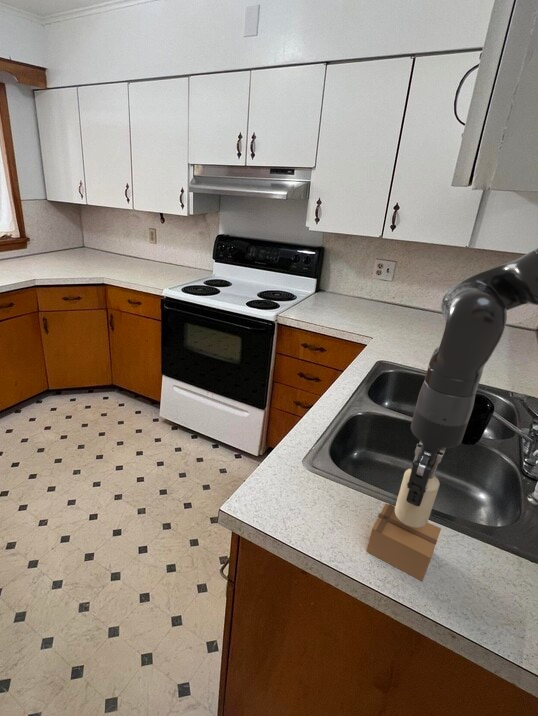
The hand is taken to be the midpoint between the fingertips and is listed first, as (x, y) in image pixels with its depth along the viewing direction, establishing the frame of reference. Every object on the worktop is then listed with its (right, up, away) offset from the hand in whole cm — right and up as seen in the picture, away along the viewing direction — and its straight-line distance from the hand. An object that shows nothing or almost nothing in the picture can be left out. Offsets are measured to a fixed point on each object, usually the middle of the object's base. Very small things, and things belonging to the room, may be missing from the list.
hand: (417, 492), depth 73 cm
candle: (0, -5, +2) cm, 6 cm away
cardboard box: (0, -13, +6) cm, 15 cm away
